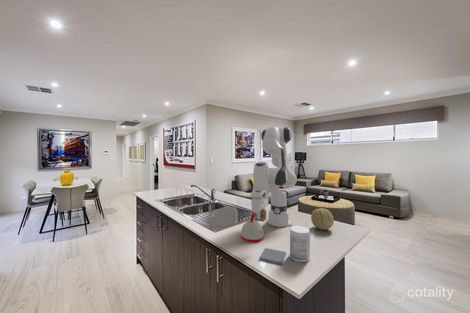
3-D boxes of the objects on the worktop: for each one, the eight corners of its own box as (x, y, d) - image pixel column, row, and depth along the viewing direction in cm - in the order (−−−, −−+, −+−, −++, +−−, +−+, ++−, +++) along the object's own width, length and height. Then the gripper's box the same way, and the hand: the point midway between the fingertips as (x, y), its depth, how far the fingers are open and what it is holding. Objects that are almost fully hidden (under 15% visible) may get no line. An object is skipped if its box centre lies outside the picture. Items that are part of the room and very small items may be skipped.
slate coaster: (265, 250, 109) (265, 247, 109) (285, 254, 105) (285, 251, 105) (259, 259, 99) (259, 257, 99) (281, 264, 95) (281, 262, 95)
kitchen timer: (264, 234, 130) (265, 211, 130) (261, 243, 117) (262, 218, 117) (243, 232, 134) (244, 209, 134) (238, 240, 120) (239, 216, 120)
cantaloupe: (331, 235, 130) (331, 212, 130) (308, 229, 139) (308, 208, 139) (335, 228, 142) (336, 207, 142) (314, 223, 151) (314, 204, 151)
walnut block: (257, 217, 114) (257, 209, 114) (266, 219, 112) (266, 210, 112) (254, 220, 110) (254, 211, 110) (263, 221, 108) (263, 212, 108)
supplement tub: (295, 251, 108) (295, 224, 108) (312, 257, 102) (313, 229, 101) (286, 258, 101) (286, 229, 101) (304, 265, 95) (305, 234, 94)
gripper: (260, 188, 122) (260, 211, 122) (249, 194, 103) (249, 221, 103) (271, 189, 119) (270, 212, 119) (261, 195, 100) (260, 223, 101)
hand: (260, 216), depth 111 cm, fingers closed on walnut block, 5 cm apart
